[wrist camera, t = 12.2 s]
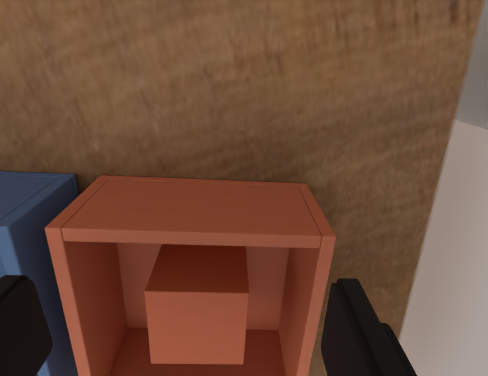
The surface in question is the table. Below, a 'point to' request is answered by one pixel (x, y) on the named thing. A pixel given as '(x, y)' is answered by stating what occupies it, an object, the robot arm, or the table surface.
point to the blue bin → (37, 249)
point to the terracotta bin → (190, 233)
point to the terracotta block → (198, 304)
